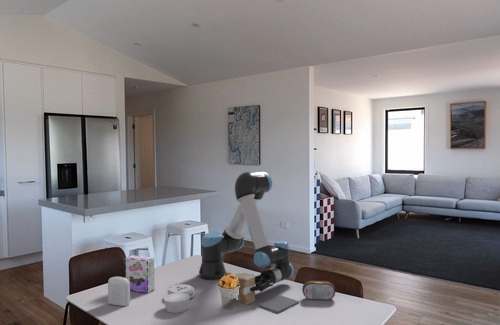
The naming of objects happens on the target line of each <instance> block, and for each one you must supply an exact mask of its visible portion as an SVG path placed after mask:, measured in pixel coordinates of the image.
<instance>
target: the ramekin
mask: <svg viewBox="0 0 500 325" xmlns="http://www.w3.org/2000/svg"><path fill="white" fill-rule="evenodd" d="M190 299H191V298H190V296H189V295H188V294H186V293H173V294H169V295H168V294H167V295H165V296H164V297H163V302H164V305H165V306H164V307H165V310H166V311H167V312H168V313H170V314H179V313H183V312H185V311H187V309H189V304H190Z"/></svg>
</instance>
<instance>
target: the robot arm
mask: <svg viewBox="0 0 500 325" xmlns="http://www.w3.org/2000/svg"><path fill="white" fill-rule="evenodd" d="M272 188H273V179H272V177H271V175H270V174H269V173H268V172H266V171H261V170H259V171H246V172H243V173H241V174H239V175H238V177H237V179H236V180H235V182H234V195H235V197H236V198H235V199H236V201H237V202H238V203H239V204H238V206H237V208H236V210H235V213H234V214H233V217H232V219H231V221H230V223H229V225H227V226H225V228H224V230H223V232H220V231H210V232H207V233H204V234H203V236H202V237H201V243H200V244H201V263H200V264H201V265H200V267H199V271H198V277H199V278H200V279H202V280H208V281H209V280H211V281H213V280H219V279H222V278H221V277H223V276H224V274H225V273H226V274H227V270H226V267H225V264H224V260H223V259H224V257H223V256H224V255H225V254H228V253H233V252H236V251H238V250H240V249H242V248H243V246H244V244H245V234H244V231H245V228H246V226H247V228H248V231H249V235H250V237H251V241H252V243H253V247H254V250H255V253H254V254H253V262H254V264H255V266H256V267H258V268H265V267H268V266H271V265H273V264H274V266H273V267H271V268H268V269H265V270H262V271H261V273H259V274H257V275H255V274H253V273H251V274H252V275H255V285H251V286H249V287H246V288H244V295H246V294H248V293H251V292H253V291H255V292H258V291H259V292H263V291H265V290H266V289H268V288H270V287H273V286H274V285H275V284H277V283H280V282H281V281H284V280H288V279H290V278H291V277H293V276H294V273H295V268H294V266H293V265H292V263H291V262H290V247H289V242H287V241H286V240H277V241H275V242H274V244H273V247H271V245H270V242H269V238H268V237H267V233H266V230H265V227H264V224H263V222H262V219H261V215H260V212H259V209H258V206H257V203H258V201H261V200H262V199H263V197H264V196H265V194H266V193H268V192H270V191H271V190H272ZM223 278H224V277H223Z"/></svg>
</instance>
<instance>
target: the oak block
mask: <svg viewBox="0 0 500 325" xmlns="http://www.w3.org/2000/svg"><path fill="white" fill-rule="evenodd" d="M252 274H253V273H248V272H245V271H241V272H238V273H235V274H234V277H235V276H238V281H239V283H240V287H239V295H238V301H237V302H240V303H242V304H245V305H249V304H252V303H255V302H256V291H253V292H251V293H248V294H246V295H244V288H246V287H249V286H251V285H255V286H256V284H255V276H256V275H255V274H254V275H252Z"/></svg>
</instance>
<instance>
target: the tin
mask: <svg viewBox="0 0 500 325" xmlns="http://www.w3.org/2000/svg"><path fill="white" fill-rule="evenodd" d="M302 294H303V296H304V297H305V298H306V299H307V300H311V301H330V300H332V299H333V298H334V297H335V296H336V287H335V285H334V284H333V283H332V282H330V281H327V280H326V281H325V280H307V281H306V282H305V283H303V285H302Z"/></svg>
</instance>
